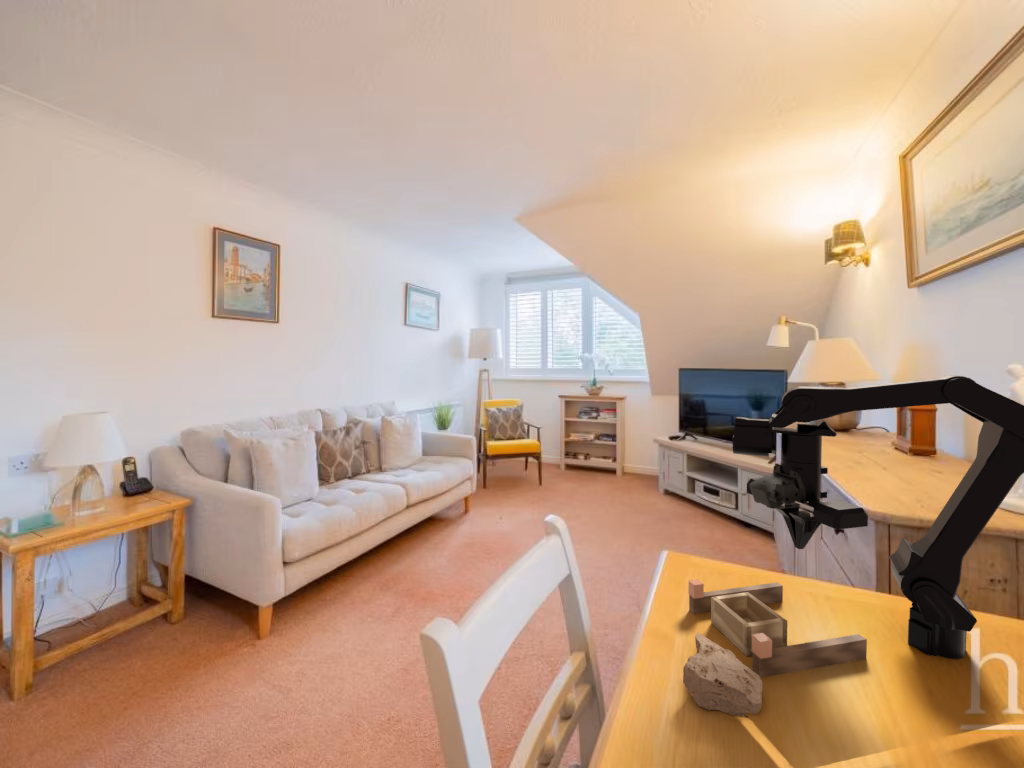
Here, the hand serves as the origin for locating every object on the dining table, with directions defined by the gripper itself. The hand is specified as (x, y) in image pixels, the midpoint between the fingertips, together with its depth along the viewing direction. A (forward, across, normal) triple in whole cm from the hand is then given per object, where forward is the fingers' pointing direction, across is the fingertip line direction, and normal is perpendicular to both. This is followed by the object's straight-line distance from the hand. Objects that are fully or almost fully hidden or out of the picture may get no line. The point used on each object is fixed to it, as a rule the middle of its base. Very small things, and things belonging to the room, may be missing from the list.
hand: (799, 548), depth 71 cm
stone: (+12, +11, -25) cm, 30 cm away
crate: (+11, +4, -14) cm, 18 cm away
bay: (+12, +4, -10) cm, 16 cm away
